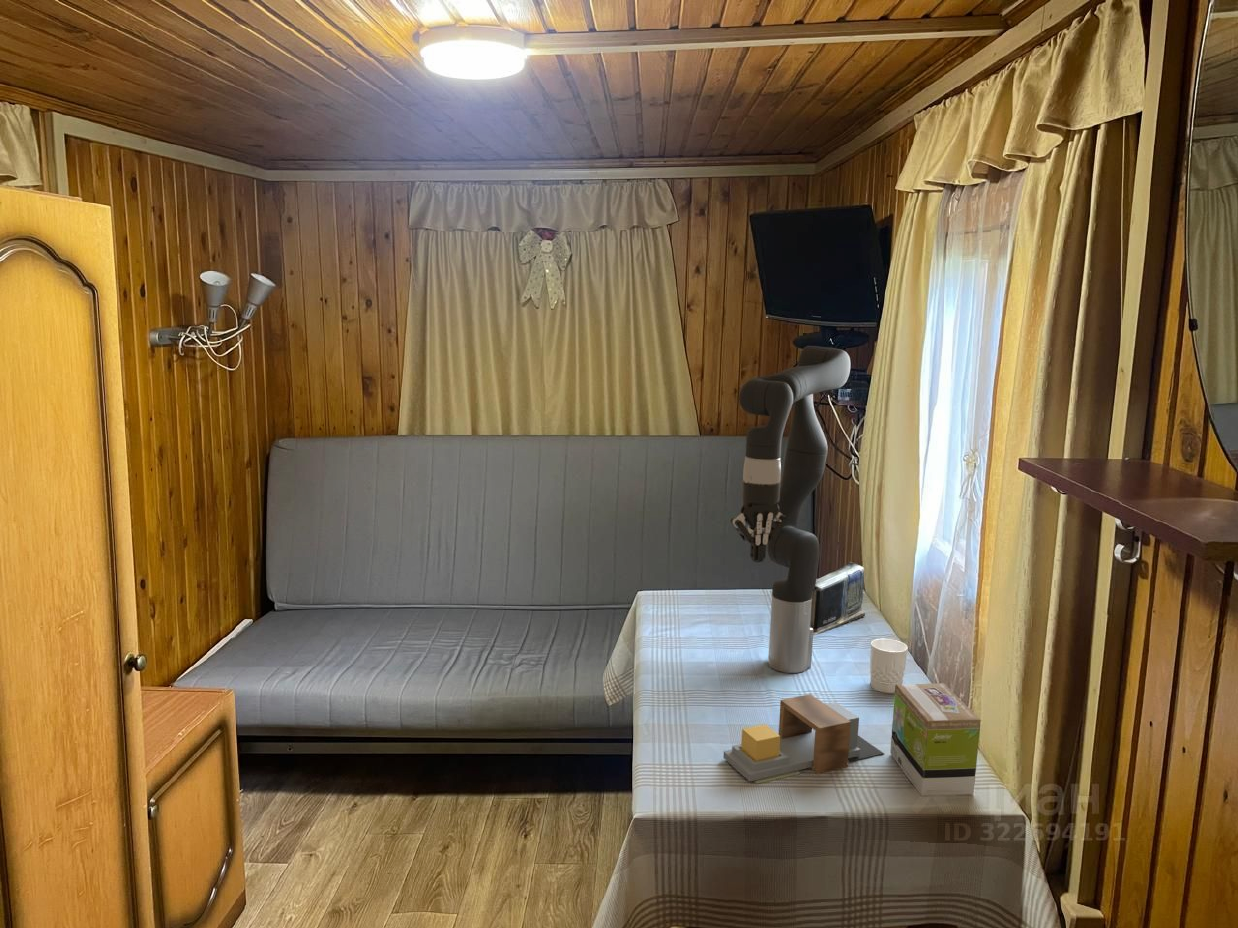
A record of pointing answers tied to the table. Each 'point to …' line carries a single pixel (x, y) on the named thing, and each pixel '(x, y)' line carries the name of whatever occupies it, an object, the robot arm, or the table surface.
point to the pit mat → (865, 750)
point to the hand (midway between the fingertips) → (757, 561)
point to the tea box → (935, 739)
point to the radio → (837, 598)
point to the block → (760, 742)
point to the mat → (776, 777)
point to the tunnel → (817, 730)
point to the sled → (790, 752)
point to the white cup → (887, 664)
